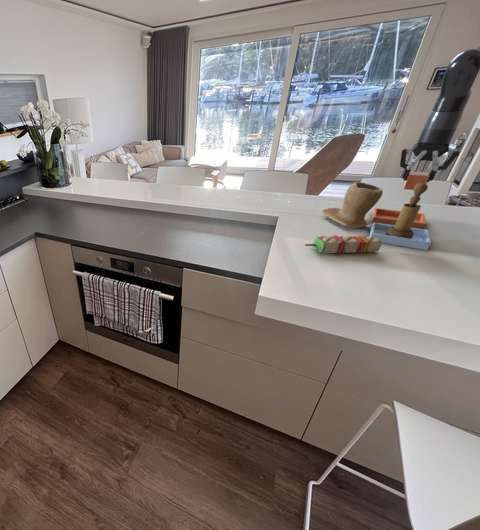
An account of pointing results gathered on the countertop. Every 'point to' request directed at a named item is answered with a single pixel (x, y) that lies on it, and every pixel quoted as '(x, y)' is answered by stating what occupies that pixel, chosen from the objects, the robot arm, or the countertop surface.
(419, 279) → the countertop surface
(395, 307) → the countertop surface
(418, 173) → the terracotta block
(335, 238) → the skewer
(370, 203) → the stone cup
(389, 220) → the terracotta tray
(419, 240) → the light blue tray
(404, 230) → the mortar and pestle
